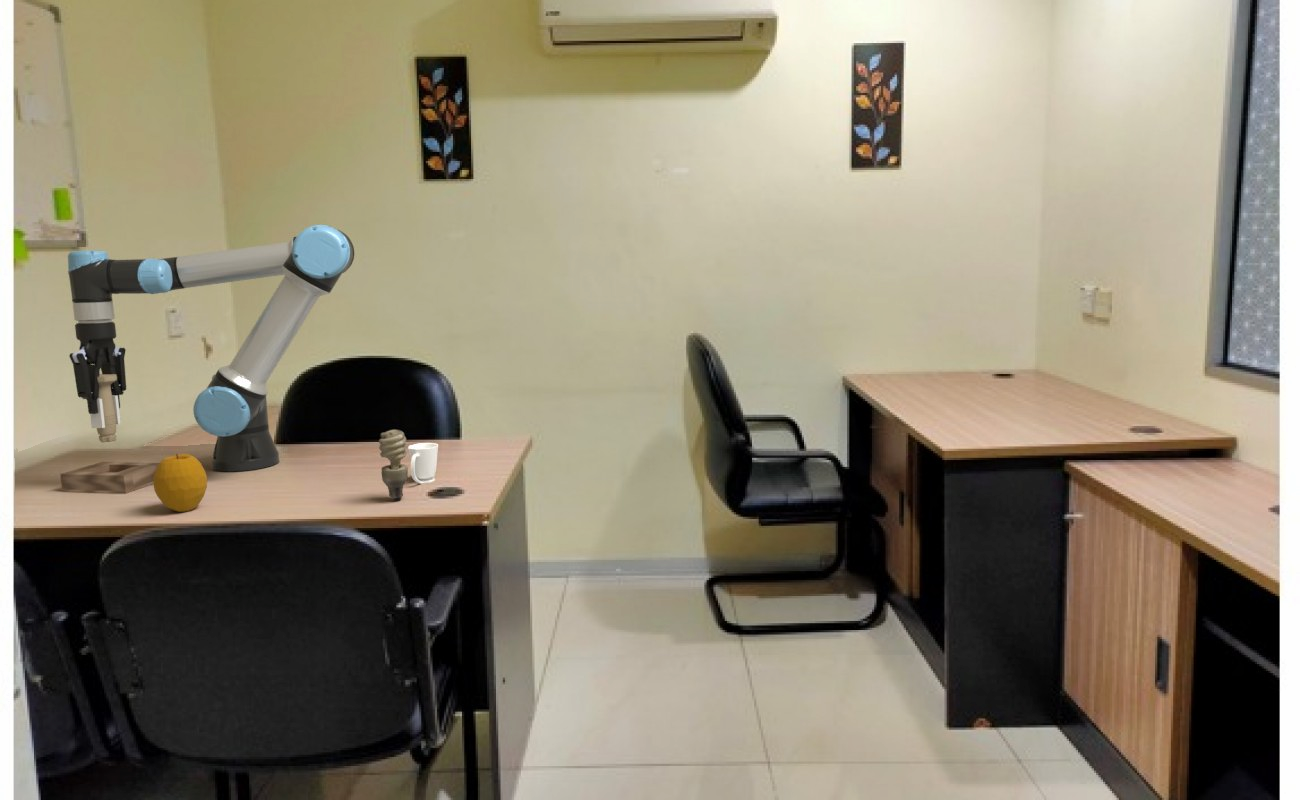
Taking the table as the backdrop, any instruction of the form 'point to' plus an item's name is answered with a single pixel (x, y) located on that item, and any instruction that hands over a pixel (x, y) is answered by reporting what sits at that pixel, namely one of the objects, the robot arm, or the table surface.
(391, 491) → the light bulb
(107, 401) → the handle
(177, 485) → the apple
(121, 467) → the slot block
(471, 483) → the table surface
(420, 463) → the cup
